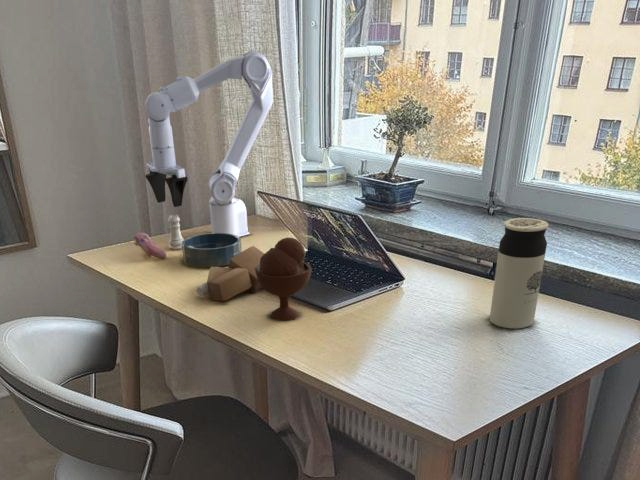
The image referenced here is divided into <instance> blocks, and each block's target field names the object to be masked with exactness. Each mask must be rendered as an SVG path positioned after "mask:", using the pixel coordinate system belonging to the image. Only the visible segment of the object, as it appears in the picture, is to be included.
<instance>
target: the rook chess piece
mask: <svg viewBox="0 0 640 480" xmlns="http://www.w3.org/2000/svg"><path fill="white" fill-rule="evenodd" d="M167 222H168V223H169V228H170V229H169V230H170V236H169V240H168V248H169V249H170V250H173V251H178V250H182V241H183V240H184V239H185V238H184V236H182V233H181V224H180V222H181V218H180V216H179V214H172V215H171V214H169V215H168V219H167Z"/></svg>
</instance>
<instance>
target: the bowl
mask: <svg viewBox="0 0 640 480" xmlns="http://www.w3.org/2000/svg"><path fill="white" fill-rule="evenodd" d="M183 239H184V240H183V241H182V249H181V252H182V260H183V263H185V264H186V265H189V266H192V267H198V268H210V267H224V266H229V261H230V259H231V258H232V257H234V256H236V255H238V254H239V253H241V252H243V249H242V238H241V237H239V236H237V235H234V234H228V233H212V232H209V233H200V234H196V235H191V236H188V237H186V238H183Z"/></svg>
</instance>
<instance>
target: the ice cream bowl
mask: <svg viewBox="0 0 640 480" xmlns="http://www.w3.org/2000/svg"><path fill="white" fill-rule="evenodd" d="M305 258H306V251H305V247H304V245H303V244H302V242H301V241H299V240H298V239H296V238H293V237H284V238H281V239H280V240H278V241H277V242H276V244H275V245H274V247H270V248H269V250H267V251H266V252H265V253H264V255H263V256H262V257H261V259H260V265H258V266H257V267H255V272H256V276H257V278H258V281H259V283H260V285H261V286H262V287H263V288H262V289H264V291H266V292H267V293H269V294H271V295H273V296H276V297H278V299H279V306H278V307H277V308H276V309H274V310H273V311H271V313H270V317H271V319H273V320H277V321H291V320H295V319H296V318H297V317H299V313H298V311H297V309H295V308H293V307H291V306H290V303H289V302H290V301H289V299H290V297H291V296H293V295H295V294H297V293H298V292H299V291H300V290H302V289H303V288H304V287H305V286H306V285H307V284H308V282H309V280H310V278H311V275H312V270H313V268H312V266H311V264H310V263H309V262H306V261H304V260H305Z"/></svg>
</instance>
